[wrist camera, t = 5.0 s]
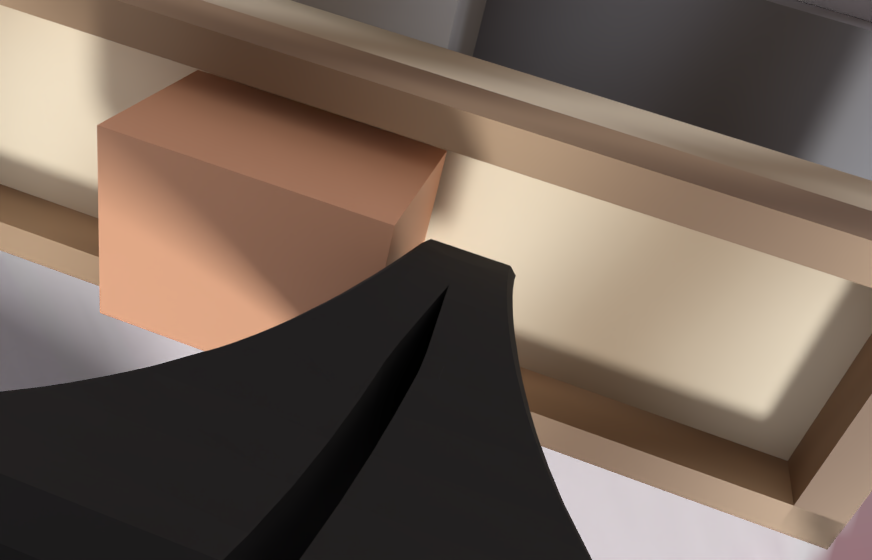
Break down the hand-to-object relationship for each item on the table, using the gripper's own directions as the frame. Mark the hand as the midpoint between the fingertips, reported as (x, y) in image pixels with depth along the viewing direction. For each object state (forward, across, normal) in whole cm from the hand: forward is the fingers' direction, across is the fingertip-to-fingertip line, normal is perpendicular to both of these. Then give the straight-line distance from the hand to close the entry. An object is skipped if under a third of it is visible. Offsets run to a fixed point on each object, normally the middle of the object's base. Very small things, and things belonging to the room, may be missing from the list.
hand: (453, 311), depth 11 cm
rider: (+2, +3, 0) cm, 3 cm away
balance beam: (+6, +3, 0) cm, 7 cm away
